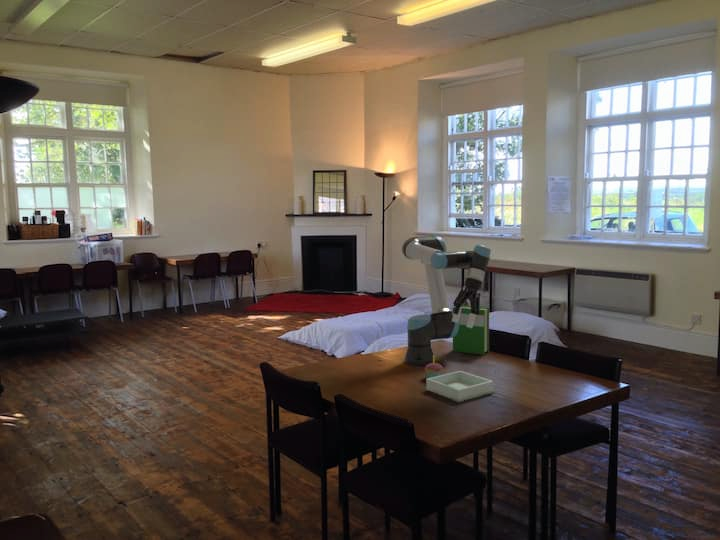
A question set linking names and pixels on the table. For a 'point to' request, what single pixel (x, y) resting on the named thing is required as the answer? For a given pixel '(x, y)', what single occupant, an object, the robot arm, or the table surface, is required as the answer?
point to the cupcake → (434, 369)
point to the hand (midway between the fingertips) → (462, 324)
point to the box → (459, 386)
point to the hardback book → (472, 332)
